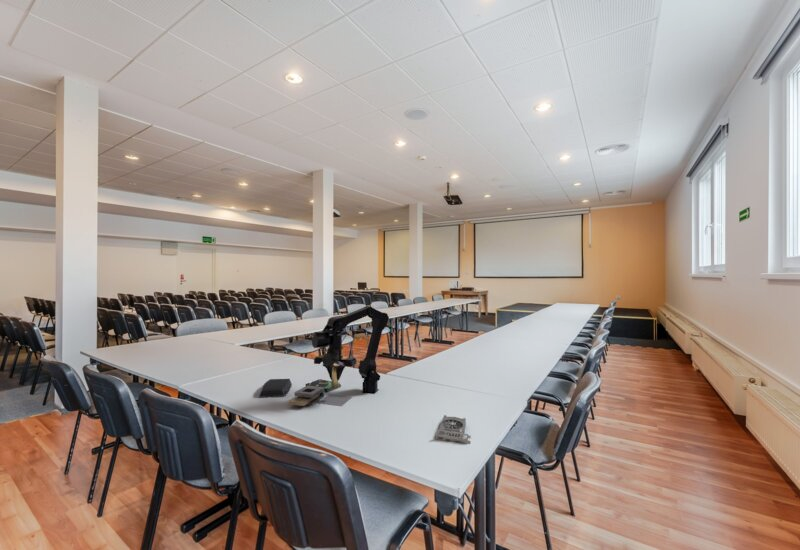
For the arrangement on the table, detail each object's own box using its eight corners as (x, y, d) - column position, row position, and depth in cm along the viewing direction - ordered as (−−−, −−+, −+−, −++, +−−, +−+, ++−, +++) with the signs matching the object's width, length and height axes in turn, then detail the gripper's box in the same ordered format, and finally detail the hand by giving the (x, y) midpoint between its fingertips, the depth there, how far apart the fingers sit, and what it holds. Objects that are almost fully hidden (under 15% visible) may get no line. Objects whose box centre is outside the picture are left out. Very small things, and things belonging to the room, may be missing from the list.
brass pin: (339, 387, 156) (339, 365, 156) (336, 389, 153) (336, 366, 154) (333, 386, 157) (333, 364, 157) (330, 388, 154) (330, 366, 154)
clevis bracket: (307, 396, 162) (307, 385, 162) (324, 397, 159) (324, 387, 159) (287, 408, 146) (287, 396, 146) (305, 410, 144) (305, 398, 144)
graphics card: (470, 436, 115) (435, 430, 118) (470, 447, 115) (434, 441, 118) (473, 417, 131) (442, 412, 135) (473, 427, 131) (442, 422, 135)
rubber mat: (352, 397, 160) (352, 396, 160) (341, 407, 148) (341, 406, 148) (329, 395, 163) (329, 394, 163) (316, 404, 151) (316, 403, 151)
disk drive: (305, 389, 173) (327, 394, 165) (305, 384, 173) (327, 388, 166) (319, 384, 182) (341, 388, 174) (319, 378, 182) (341, 382, 175)
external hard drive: (256, 399, 158) (256, 390, 159) (267, 385, 178) (267, 378, 178) (285, 398, 160) (285, 389, 160) (293, 385, 179) (293, 377, 179)
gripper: (307, 347, 150) (307, 383, 150) (346, 350, 145) (346, 387, 145) (320, 342, 161) (319, 376, 161) (357, 345, 156) (356, 379, 156)
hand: (335, 379), depth 155 cm, fingers closed on brass pin, 3 cm apart
